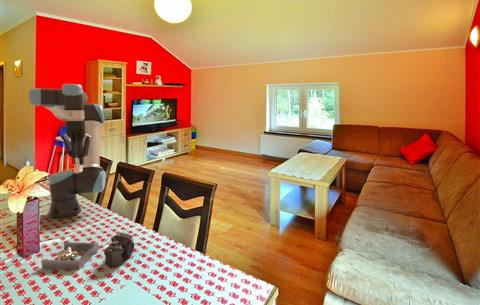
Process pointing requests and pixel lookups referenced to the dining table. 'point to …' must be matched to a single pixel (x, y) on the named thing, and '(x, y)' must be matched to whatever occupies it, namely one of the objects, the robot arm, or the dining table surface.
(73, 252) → the ornament
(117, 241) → the camera
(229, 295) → the dining table surface
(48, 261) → the frame
